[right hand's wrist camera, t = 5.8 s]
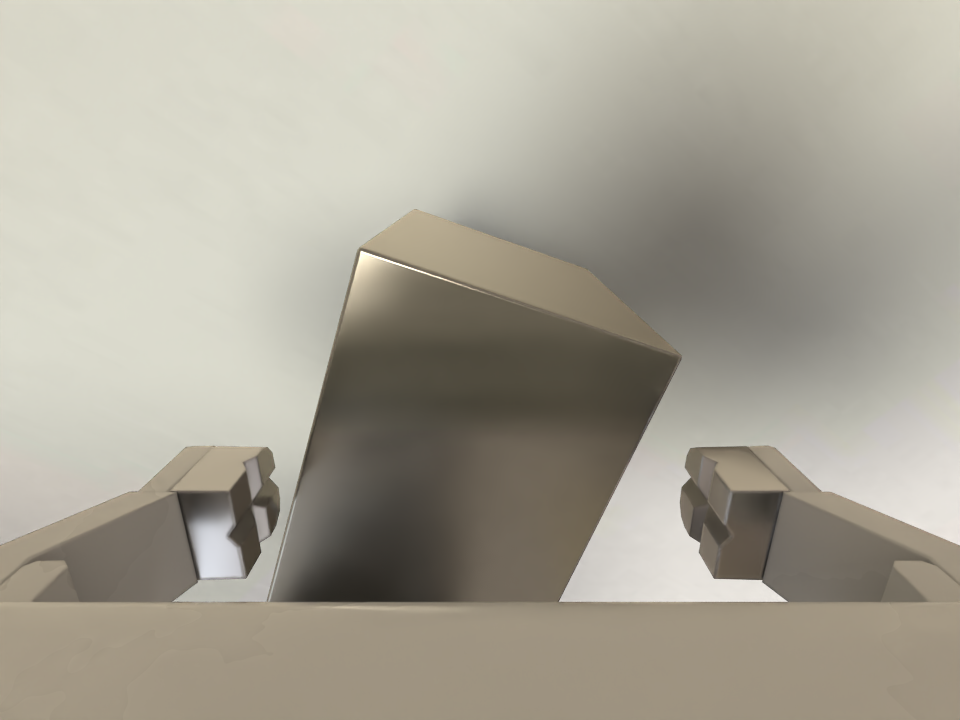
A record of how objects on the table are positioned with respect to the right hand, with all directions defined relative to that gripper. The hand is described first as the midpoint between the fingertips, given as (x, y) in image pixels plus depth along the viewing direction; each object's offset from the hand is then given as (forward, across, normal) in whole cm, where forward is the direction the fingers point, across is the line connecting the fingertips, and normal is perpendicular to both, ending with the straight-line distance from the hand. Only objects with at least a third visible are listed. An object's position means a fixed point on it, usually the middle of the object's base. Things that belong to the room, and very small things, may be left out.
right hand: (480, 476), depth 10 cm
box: (+9, -3, -6) cm, 11 cm away
